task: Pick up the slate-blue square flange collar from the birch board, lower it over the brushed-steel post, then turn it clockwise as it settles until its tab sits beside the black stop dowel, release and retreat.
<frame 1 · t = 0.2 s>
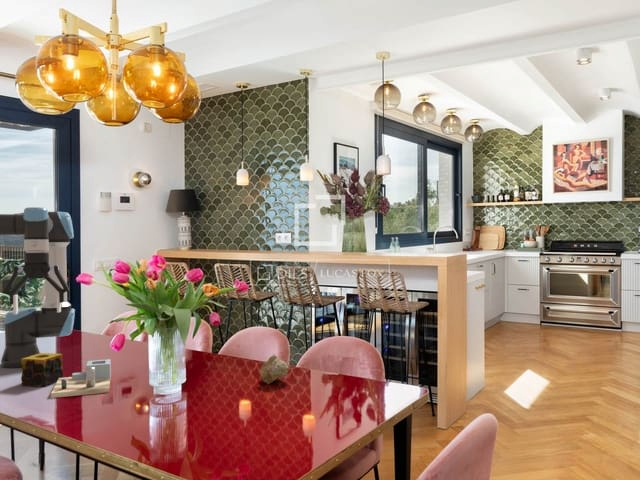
hand: (37, 313, 187), 28 cm above the table, fingers open, 13 cm apart
post: (90, 390, 188), resting on board
dowel: (64, 393, 185), resting on board
yellow black cube: (42, 383, 199), on the table
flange: (79, 378, 198), point 2 cm above the table, touching board
board: (82, 387, 193), on the table
rock: (271, 382, 197), on the table
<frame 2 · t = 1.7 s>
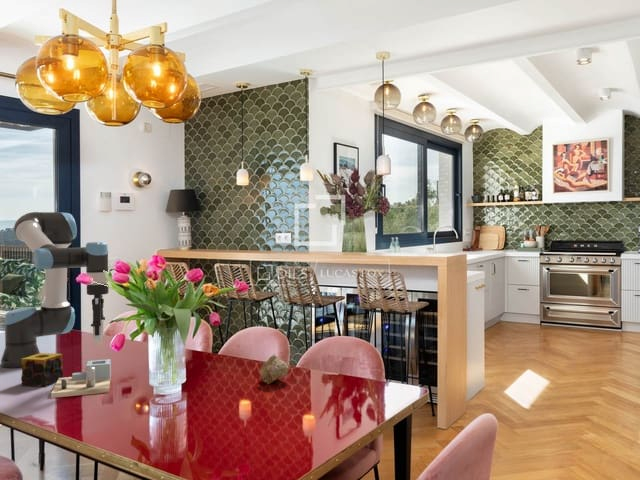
hand: (98, 340, 199), 15 cm above the table, fingers open, 13 cm apart
nothing on the table moved.
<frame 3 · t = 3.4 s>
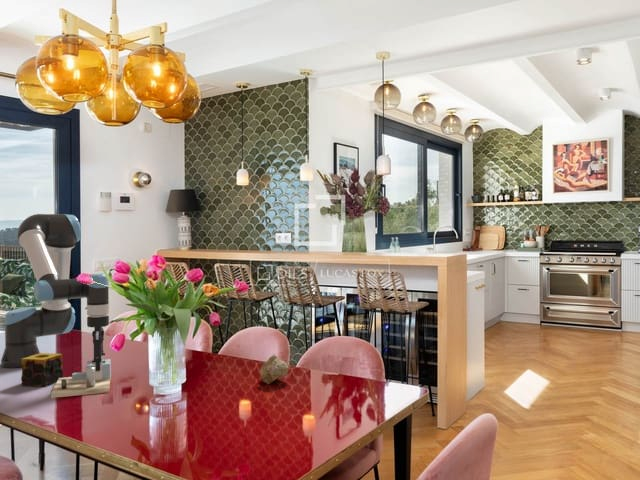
hand: (98, 376, 200), 2 cm above the table, fingers closed on board, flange, 8 cm apart
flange: (79, 378, 198), point 2 cm above the table, touching gripper
everything else where it was.
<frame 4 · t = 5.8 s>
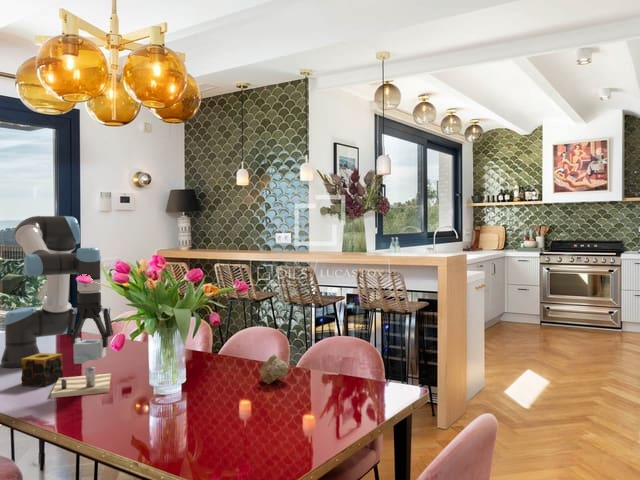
hand: (90, 356, 188), 12 cm above the table, fingers closed on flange, 8 cm apart
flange: (81, 361, 181), point 12 cm above the table, touching gripper
everything else where it was.
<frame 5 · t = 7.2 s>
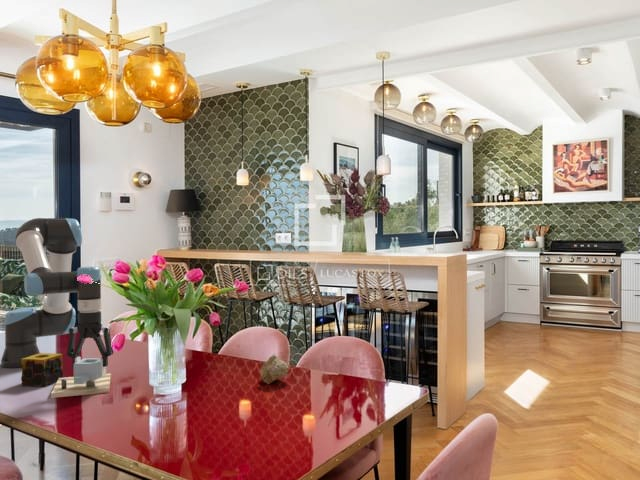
hand: (90, 375, 188), 5 cm above the table, fingers closed on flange, 8 cm apart
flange: (81, 381, 181), point 5 cm above the table, touching gripper
everything else where it was.
when the fingers open (3 cm above the table, at t = 8.4 s): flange stays where it is, resting on board.
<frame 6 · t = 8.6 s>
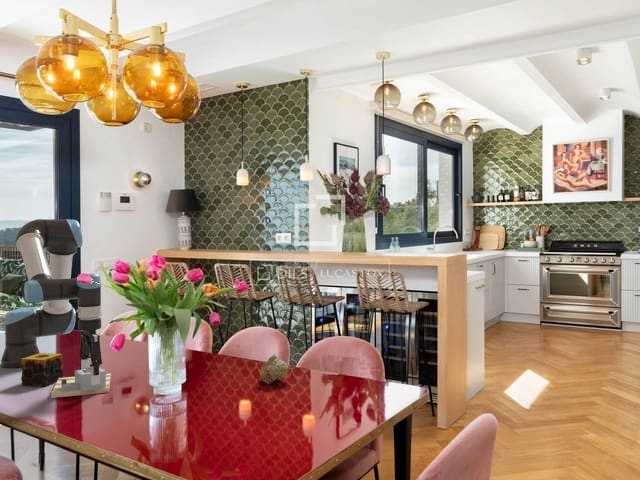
hand: (90, 381, 188), 3 cm above the table, fingers open, 10 cm apart
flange: (70, 389, 184), point 2 cm above the table, touching board
everything else where it was.
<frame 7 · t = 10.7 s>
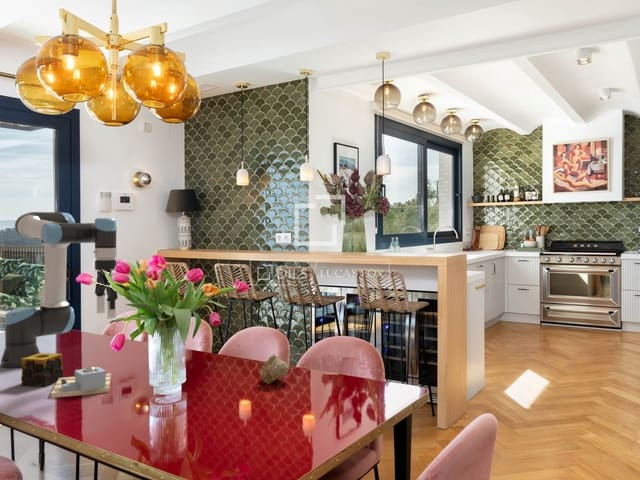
hand: (106, 315, 202), 24 cm above the table, fingers open, 13 cm apart
nothing on the table moved.
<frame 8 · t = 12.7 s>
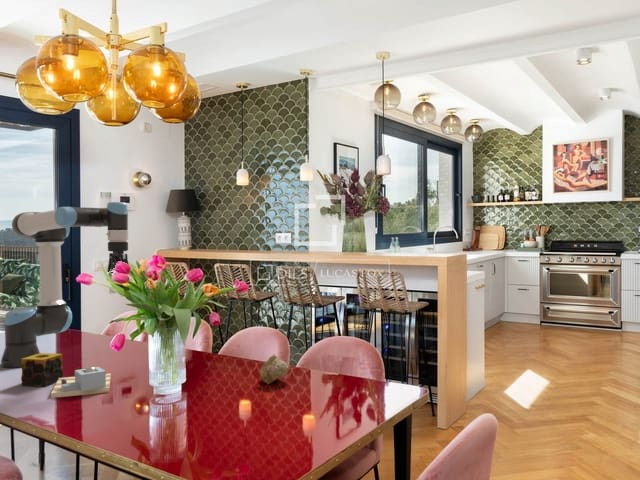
hand: (118, 294, 213), 31 cm above the table, fingers open, 13 cm apart
nothing on the table moved.
at the end: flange 0.3 cm from the target spot, point 1.6 cm above the table; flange tilted 0°; the gripper is holding nothing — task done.
